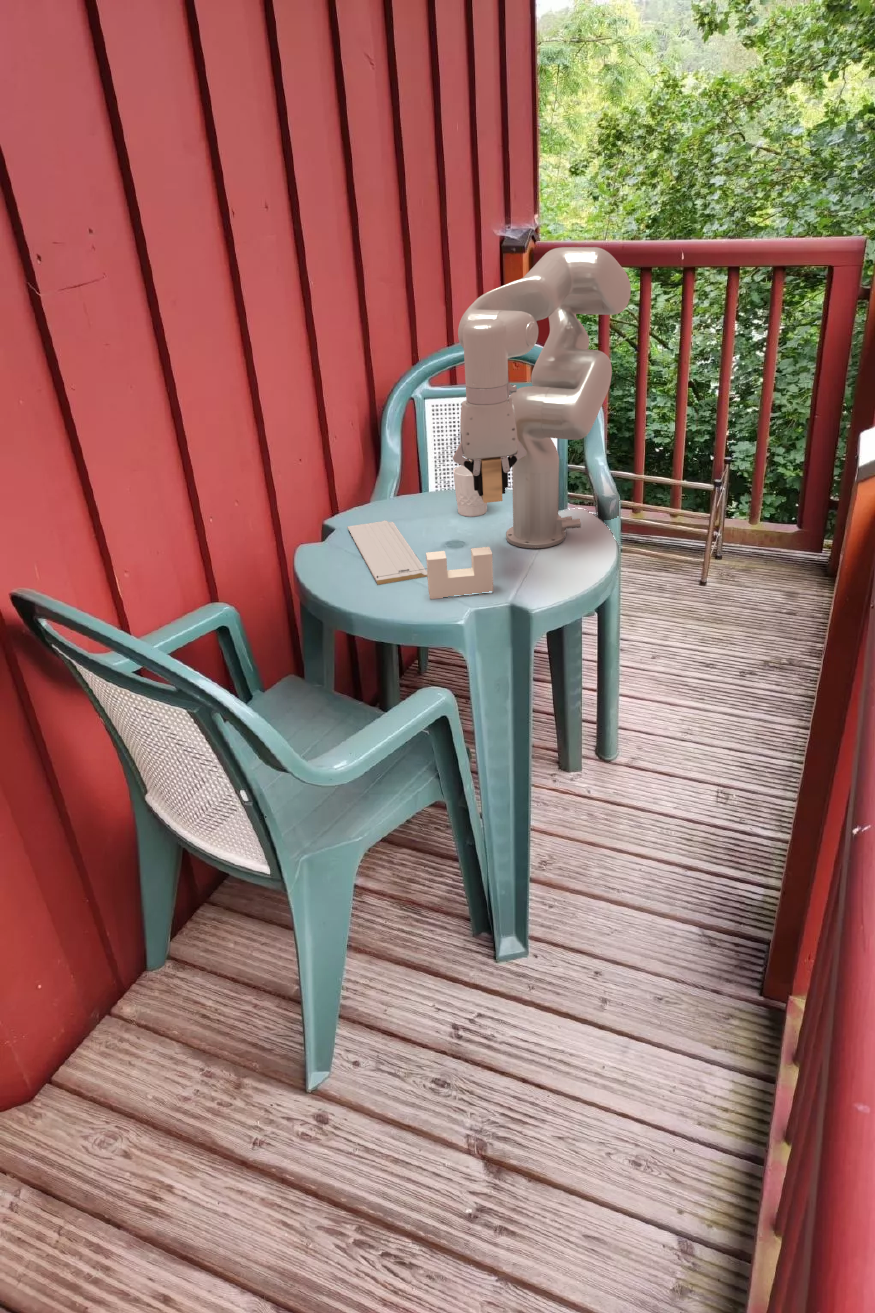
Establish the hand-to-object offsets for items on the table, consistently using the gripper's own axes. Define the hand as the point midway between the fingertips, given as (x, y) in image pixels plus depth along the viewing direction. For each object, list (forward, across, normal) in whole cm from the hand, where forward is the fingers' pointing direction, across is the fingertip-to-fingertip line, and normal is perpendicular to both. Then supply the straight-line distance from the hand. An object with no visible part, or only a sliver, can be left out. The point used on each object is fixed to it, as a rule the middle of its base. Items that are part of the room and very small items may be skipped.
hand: (491, 491), depth 168 cm
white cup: (+18, 0, -35) cm, 40 cm away
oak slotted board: (+1, 0, -7) cm, 7 cm away
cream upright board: (+17, +8, +7) cm, 20 cm away
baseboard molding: (+18, +20, -16) cm, 31 cm away
